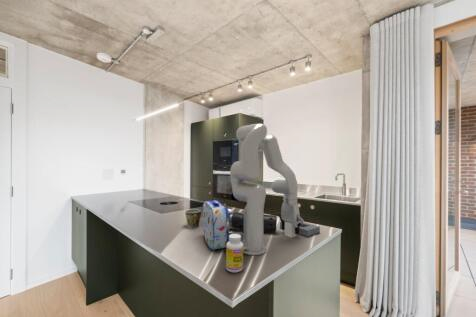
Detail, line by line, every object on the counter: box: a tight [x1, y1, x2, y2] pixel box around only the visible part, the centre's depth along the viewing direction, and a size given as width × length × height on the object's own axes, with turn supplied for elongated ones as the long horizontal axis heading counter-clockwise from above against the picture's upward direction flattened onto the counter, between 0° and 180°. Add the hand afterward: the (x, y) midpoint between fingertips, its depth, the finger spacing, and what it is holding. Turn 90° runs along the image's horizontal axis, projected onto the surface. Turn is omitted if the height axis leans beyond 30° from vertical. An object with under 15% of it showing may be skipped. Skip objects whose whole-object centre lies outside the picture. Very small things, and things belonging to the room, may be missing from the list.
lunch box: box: [201, 199, 232, 251], centre depth 110 cm, size 28×10×22 cm, turn 21°
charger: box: [284, 221, 297, 238], centre depth 122 cm, size 5×5×8 cm
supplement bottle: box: [225, 233, 244, 273], centre depth 84 cm, size 7×7×13 cm
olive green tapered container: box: [184, 209, 202, 229], centre depth 136 cm, size 13×10×10 cm
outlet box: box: [279, 220, 321, 238], centre depth 130 cm, size 12×20×4 cm, turn 38°
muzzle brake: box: [229, 211, 278, 233], centre depth 130 cm, size 10×28×10 cm, turn 77°
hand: (290, 231), depth 122 cm, fingers open, 8 cm apart
